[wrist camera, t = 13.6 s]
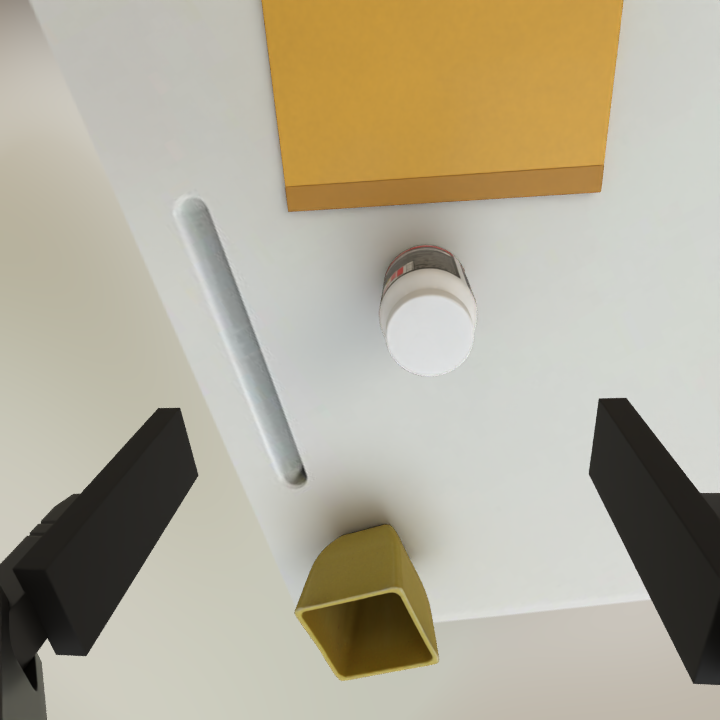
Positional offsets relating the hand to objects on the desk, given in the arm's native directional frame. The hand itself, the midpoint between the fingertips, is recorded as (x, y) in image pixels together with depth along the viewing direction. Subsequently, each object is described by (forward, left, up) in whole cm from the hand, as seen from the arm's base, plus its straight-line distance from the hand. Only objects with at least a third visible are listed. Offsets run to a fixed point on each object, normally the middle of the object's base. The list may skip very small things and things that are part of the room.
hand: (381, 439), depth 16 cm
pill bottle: (+1, +2, -21) cm, 21 cm away
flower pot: (+26, -3, -21) cm, 34 cm away
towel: (-12, +3, -21) cm, 24 cm away
